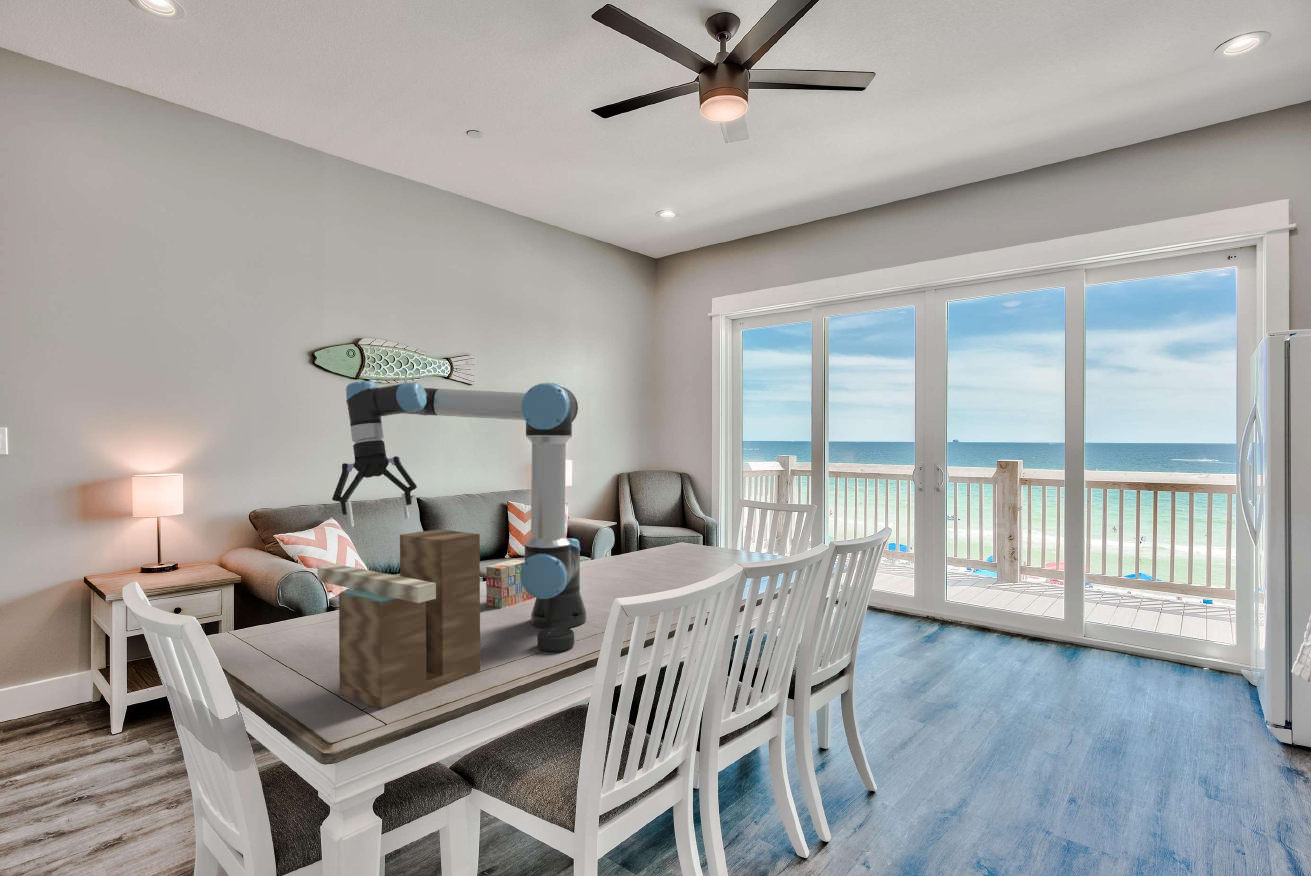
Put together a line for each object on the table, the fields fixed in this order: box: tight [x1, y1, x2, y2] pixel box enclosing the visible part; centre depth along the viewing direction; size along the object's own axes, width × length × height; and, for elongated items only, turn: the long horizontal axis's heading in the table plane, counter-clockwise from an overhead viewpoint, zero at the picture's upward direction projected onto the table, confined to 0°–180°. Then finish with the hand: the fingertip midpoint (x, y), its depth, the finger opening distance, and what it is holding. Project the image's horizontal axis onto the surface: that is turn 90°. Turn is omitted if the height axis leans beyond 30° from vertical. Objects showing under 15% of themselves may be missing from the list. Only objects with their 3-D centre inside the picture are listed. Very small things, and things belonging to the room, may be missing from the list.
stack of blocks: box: [485, 559, 535, 609], centre depth 206 cm, size 21×6×12 cm, turn 150°
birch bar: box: [317, 563, 436, 603], centre depth 133 cm, size 34×4×3 cm, turn 57°
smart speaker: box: [537, 627, 575, 653], centre depth 160 cm, size 9×9×4 cm
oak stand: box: [338, 528, 481, 710], centre depth 137 cm, size 14×24×30 cm, turn 147°
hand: (379, 522), depth 170 cm, fingers open, 13 cm apart
